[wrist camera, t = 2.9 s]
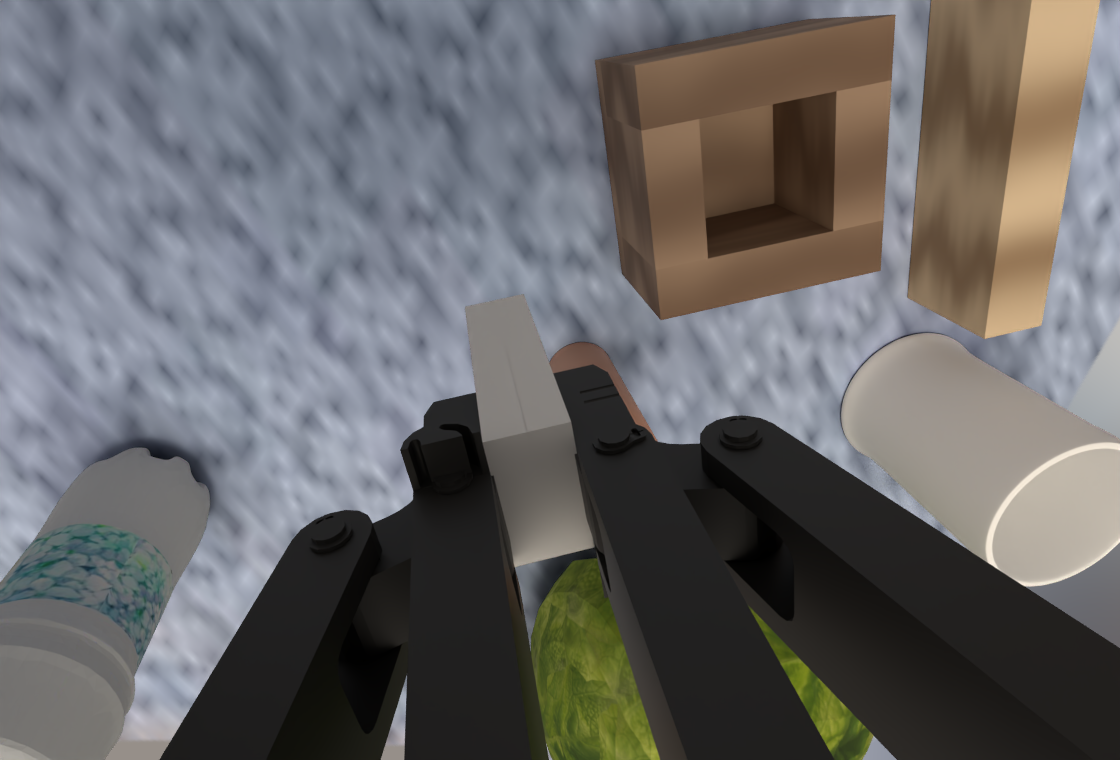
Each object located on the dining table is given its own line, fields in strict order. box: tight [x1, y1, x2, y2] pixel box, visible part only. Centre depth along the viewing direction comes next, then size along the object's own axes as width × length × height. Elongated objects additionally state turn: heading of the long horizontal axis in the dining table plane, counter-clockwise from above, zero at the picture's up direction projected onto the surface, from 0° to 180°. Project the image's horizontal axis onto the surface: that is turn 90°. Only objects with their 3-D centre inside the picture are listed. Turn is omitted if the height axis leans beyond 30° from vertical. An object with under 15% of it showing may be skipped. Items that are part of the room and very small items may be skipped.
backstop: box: [908, 0, 1100, 339], centre depth 31 cm, size 20×3×6 cm, turn 10°
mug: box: [841, 333, 1120, 586], centre depth 37 cm, size 12×8×12 cm
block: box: [595, 15, 895, 320], centre depth 30 cm, size 10×10×6 cm
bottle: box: [0, 447, 210, 760], centre depth 27 cm, size 7×7×20 cm
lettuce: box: [531, 558, 874, 760], centre depth 40 cm, size 16×21×15 cm
